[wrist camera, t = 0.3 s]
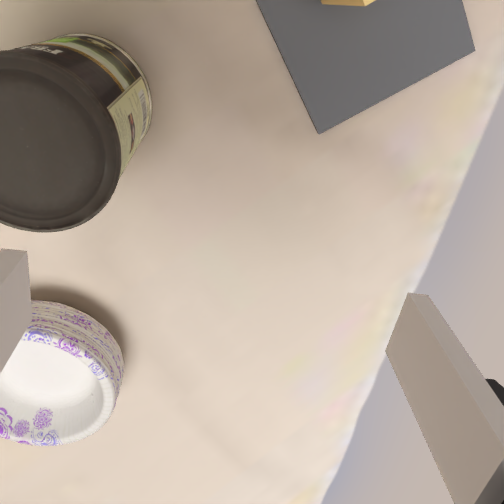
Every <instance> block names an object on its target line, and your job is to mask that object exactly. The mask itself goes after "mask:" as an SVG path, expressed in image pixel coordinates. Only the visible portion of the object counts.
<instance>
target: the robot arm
mask: <svg viewBox="0 0 504 504" xmlns="http://www.w3.org/2000/svg"><path fill="white" fill-rule="evenodd" d="M32 319H33V316H32V304H31V292H30V280H29V268H28V256H27V251H21V250H12V249H3V248H2V249H1V250H0V373H1V372H2V370H3V368H4V367H5V365H6V363H7V362H8V360H9V358H10V356H11V355H12V353H13V351H14V350H15V348H16V346H17V345H18V343H19V341H20V339H21V338H22V336H23V334H24V333H25V331H26V329H27V328H28V326H29V324H30V323H31V321H32ZM385 352H386V354H387V356H388V358H389V361H390V363H391V365H392V367H393V369H394V372H395V374H396V376H397V378H398V380H399V383H400V385H401V387H402V389H403V391H404V394H405V396H406V398H407V400H408V402H409V405H410V407H411V409H412V411H413V413H414V415H415V418H416V420H417V422H418V424H419V427H420V429H421V431H422V433H423V436H424V438H425V440H426V442H427V444H428V447H429V449H430V451H431V453H432V455H433V458H434V460H435V462H436V464H437V466H438V469H439V470H440V473H441V475H442V477H443V480H444V482H445V484H446V486H447V488H448V491H449V493H450V495H451V497H452V499H453V501H454V504H504V388H503V387H502V386H501V385H500V384H499V383H498V382H497V381H495V380H493V379H485V378H484V377H483V375H482V374H481V372H480V371H479V369H478V368H477V366H476V365H475V364H474V362H473V361H472V359H471V357H470V356H469V355H468V353H467V352H466V351H465V349H464V347H463V346H462V344H461V343H460V341H459V340H458V338H457V337H456V336H455V334H454V333H453V331H452V330H451V328H450V327H449V325H448V324H447V322H446V321H445V319H444V318H443V316H442V315H441V313H440V312H439V310H438V309H437V308H436V306H435V305H434V303H433V302H432V301H431V299H430V298H429V296H428V295H423V294H414V293H408V294H407V297H406V299H405V302H404V305H403V307H402V310H401V312H400V315H399V317H398V320H397V322H396V325H395V328H394V330H393V333H392V335H391V338H390V340H389V343H388V345H387V348H386V351H385Z"/></svg>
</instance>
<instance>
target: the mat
mask: <svg viewBox="0 0 504 504" xmlns="http://www.w3.org/2000/svg"><path fill="white" fill-rule="evenodd" d="M256 1H257V3H258V5H259V8H260V10H261V12H262V14H263V16H264V18H265V20H266V23H267V25H268V27H269V29H270V31H271V33H272V35H273V38H274V40H275V42H276V44H277V46H278V48H279V50H280V53H281V55H282V57H283V59H284V61H285V63H286V66H287V68H288V70H289V72H290V74H291V76H292V78H293V81H294V83H295V85H296V87H297V89H298V91H299V93H300V96H301V98H302V100H303V102H304V104H305V106H306V108H307V111H308V113H309V115H310V117H311V119H312V121H313V123H314V126H315V128H316V130H317V132H318V134H321V133H323V132H324V131H326V130H328V129H330V128H332V127H334V126H336V125H338V124H339V123H341V122H343V121H345V120H347V119H349V118H351V117H353V116H354V115H356V114H358V113H360V112H362V111H364V110H366V109H367V108H369V107H371V106H373V105H375V104H377V103H379V102H381V101H382V100H384V99H386V98H388V97H390V96H392V95H394V94H395V93H397V92H399V91H401V90H403V89H405V88H407V87H409V86H410V85H412V84H414V83H416V82H418V81H420V80H422V79H424V78H425V77H427V76H429V75H431V74H433V73H435V72H437V71H438V70H440V69H442V68H444V67H446V66H448V65H450V64H452V63H453V62H455V61H457V60H459V59H461V58H463V57H465V56H466V55H468V54H470V53H472V52H474V51H475V47H474V44H473V40H472V36H471V32H470V29H469V25H468V21H467V17H466V13H465V10H464V6H463V2H462V0H375V1H374V2H372V3H370V4H368V5H367V6H348V5H328V4H322V3H321V0H256Z"/></svg>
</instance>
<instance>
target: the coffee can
mask: <svg viewBox="0 0 504 504" xmlns="http://www.w3.org/2000/svg"><path fill="white" fill-rule="evenodd" d="M151 116H152V100H151V94H150V90H149V86H148V84H147V81H146V79H145V76H144V74H143V73H142V71H141V70H140V68H139V67H138V65H137V64H136V62H135V61H134V60H133V59H132V58H131V57H130V56H129V55H128V54H127V53H126V52H125V51H124V50H122V49H121V48H120V47H118V46H117V45H115V44H114V43H112V42H110V41H108V40H106V39H104V38H101V37H98V36H94V35H90V34H68V35H63V36H60V37H57V38H54V39H53V40H49V41H45V42H41V43H37V44H32V45H29V46H24V47H20V48H15V49H12V50H5V51H0V223H2V224H4V225H7V226H10V227H13V228H16V229H20V230H25V231H32V232H57V231H63V230H67V229H71V228H74V227H77V226H79V225H81V224H83V223H85V222H87V221H89V220H90V219H92V218H93V217H94V216H95V215H97V214H98V213H99V212H100V211H101V210H102V209H103V208H104V207H105V206H106V204H107V203H108V201H109V200H110V198H111V196H112V195H113V193H114V191H115V189H116V186H117V183H118V180H119V178H120V176H121V175H122V173H123V171H124V169H125V168H126V166H127V164H128V162H129V161H130V159H131V157H132V155H133V154H134V152H135V150H136V149H137V147H138V145H139V144H140V142H141V141H142V140H143V138H144V136H145V135H146V133H147V131H148V128H149V126H150V121H151Z"/></svg>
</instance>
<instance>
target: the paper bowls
mask: <svg viewBox="0 0 504 504" xmlns="http://www.w3.org/2000/svg"><path fill="white" fill-rule="evenodd" d="M31 304H32V316H33V319H32V321H31V323H30V324H29V326H28V328H27V329H26V331H25V333H24V334H23V336H22V338H21V339H20V341H19V343H18V345H17V346H16V348H15V350H14V351H13V353H12V355H11V356H10V358H9V360H8V362H7V363H6V365H5V367H4V368H3V370H2V372H1V373H0V437H2V438H5V439H8V440H11V441H15V442H19V443H23V444H28V445H37V446H54V445H63V444H68V443H72V442H76V441H79V440H82V439H84V438H86V437H88V436H90V435H92V434H94V433H95V432H96V431H98V430H99V429H100V428H101V427H102V426H103V425H104V424H105V423H106V422H107V421H108V419H109V418H110V416H111V414H112V412H113V410H114V407H115V404H116V399H117V397H118V394H119V390H120V386H121V383H122V378H123V373H124V360H123V356H122V352H121V349H120V347H119V345H118V343H117V342H116V341H115V339H114V338H113V336H112V335H111V334H110V332H109V331H108V330H107V329H106V328H105V327H104V326H103V325H102V324H100V323H99V322H97V321H96V320H95V319H94V318H92V317H91V316H89V315H87V314H86V313H83V312H81V311H79V310H77V309H75V308H73V307H69V306H67V305H64V304H60V303H57V302H50V301H41V300H31Z"/></svg>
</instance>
